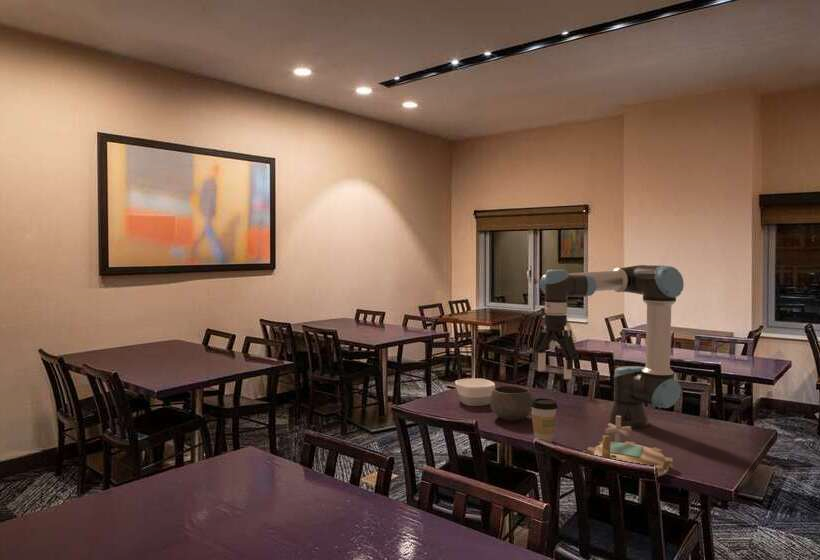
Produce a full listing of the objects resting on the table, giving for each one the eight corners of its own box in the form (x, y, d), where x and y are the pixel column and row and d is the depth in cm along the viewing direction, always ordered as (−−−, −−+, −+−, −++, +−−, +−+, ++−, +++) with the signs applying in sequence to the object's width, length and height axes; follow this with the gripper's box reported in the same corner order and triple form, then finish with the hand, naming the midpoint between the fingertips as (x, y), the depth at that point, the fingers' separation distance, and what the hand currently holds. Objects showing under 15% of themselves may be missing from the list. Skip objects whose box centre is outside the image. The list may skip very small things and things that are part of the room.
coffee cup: (557, 446, 201) (558, 405, 200) (529, 444, 203) (530, 403, 202) (556, 437, 210) (557, 398, 210) (529, 435, 212) (530, 396, 212)
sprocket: (630, 442, 202) (630, 417, 201) (691, 468, 178) (691, 440, 177) (571, 451, 192) (571, 426, 191) (627, 480, 168) (627, 451, 167)
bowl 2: (480, 418, 235) (481, 388, 234) (508, 410, 247) (508, 381, 246) (515, 428, 221) (515, 396, 221) (541, 419, 233) (542, 389, 233)
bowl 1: (449, 399, 265) (449, 379, 265) (484, 396, 270) (484, 377, 270) (464, 409, 248) (464, 388, 248) (500, 406, 253) (501, 385, 253)
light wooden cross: (614, 449, 198) (615, 421, 198) (597, 440, 208) (598, 413, 208) (638, 446, 201) (639, 419, 201) (621, 437, 211) (621, 411, 210)
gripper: (524, 311, 204) (523, 368, 205) (572, 318, 182) (570, 383, 183) (541, 310, 207) (539, 367, 208) (589, 317, 185) (588, 381, 186)
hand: (554, 374), depth 195 cm, fingers open, 13 cm apart
